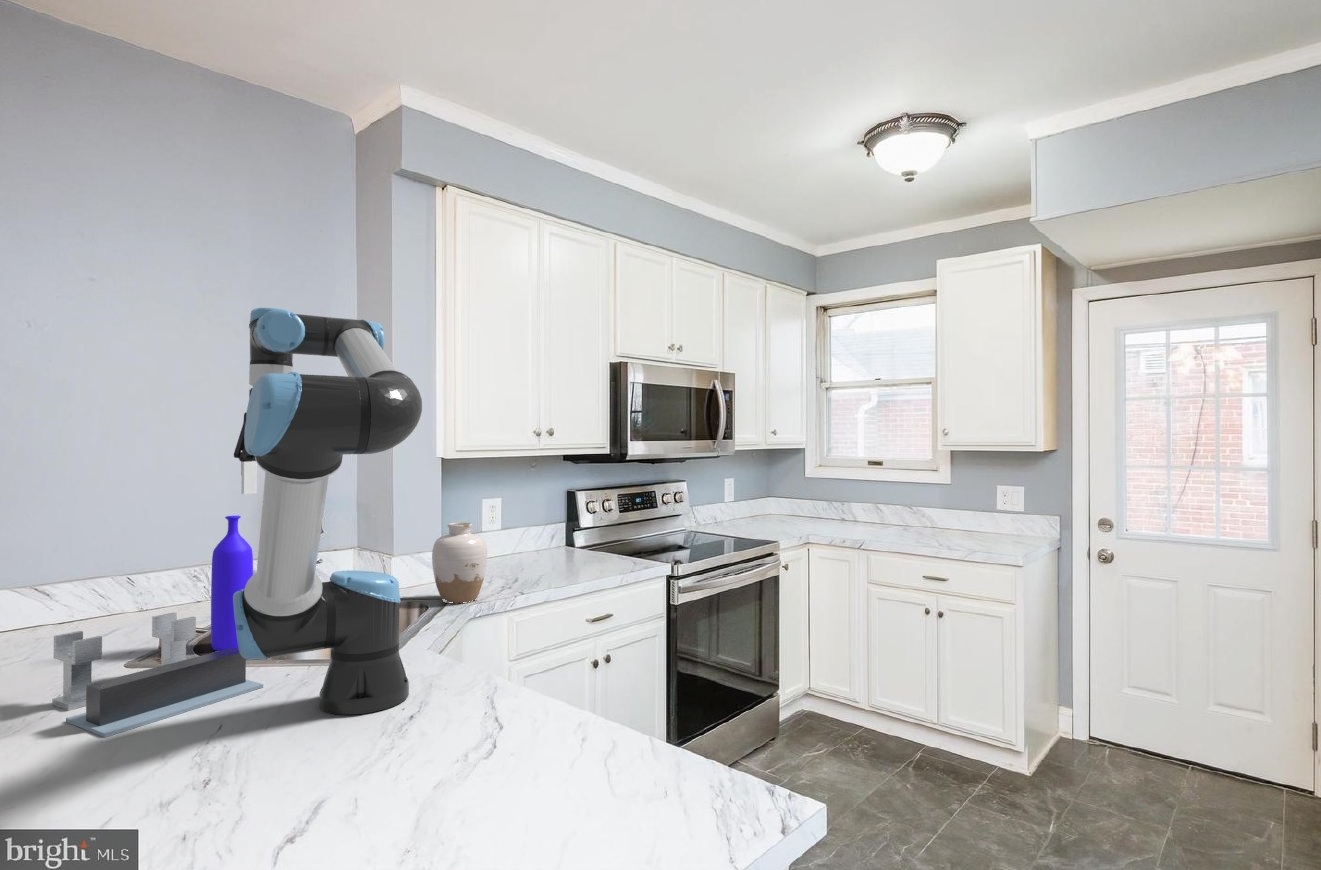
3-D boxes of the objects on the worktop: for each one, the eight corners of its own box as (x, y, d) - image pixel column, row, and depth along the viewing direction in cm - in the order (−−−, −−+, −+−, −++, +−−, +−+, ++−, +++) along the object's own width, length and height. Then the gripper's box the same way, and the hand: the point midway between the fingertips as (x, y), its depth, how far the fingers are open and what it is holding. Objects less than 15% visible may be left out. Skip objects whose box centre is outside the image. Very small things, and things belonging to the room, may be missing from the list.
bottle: (233, 652, 157) (234, 518, 157) (201, 650, 158) (202, 517, 159) (261, 642, 165) (262, 514, 165) (230, 640, 166) (232, 513, 167)
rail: (231, 678, 138) (232, 647, 138) (245, 682, 136) (245, 651, 136) (86, 721, 117) (86, 684, 117) (99, 726, 115) (99, 689, 115)
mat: (263, 687, 135) (263, 684, 135) (104, 737, 112) (104, 733, 112) (223, 676, 141) (223, 673, 141) (65, 721, 118) (65, 718, 118)
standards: (197, 676, 141) (198, 616, 141) (71, 711, 122) (71, 642, 122) (175, 670, 144) (176, 611, 145) (49, 703, 126) (50, 636, 126)
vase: (457, 609, 198) (458, 528, 198) (420, 602, 206) (420, 524, 206) (498, 598, 211) (498, 522, 211) (461, 592, 220) (461, 519, 220)
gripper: (330, 386, 136) (329, 496, 136) (251, 391, 148) (250, 491, 148) (294, 384, 130) (293, 498, 129) (214, 388, 141) (213, 493, 141)
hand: (270, 495), depth 138 cm, fingers open, 13 cm apart
